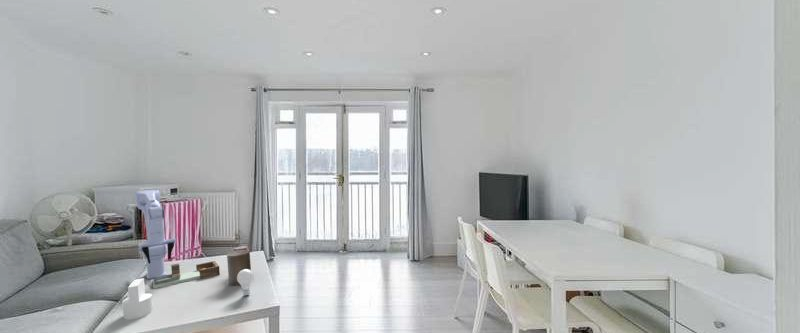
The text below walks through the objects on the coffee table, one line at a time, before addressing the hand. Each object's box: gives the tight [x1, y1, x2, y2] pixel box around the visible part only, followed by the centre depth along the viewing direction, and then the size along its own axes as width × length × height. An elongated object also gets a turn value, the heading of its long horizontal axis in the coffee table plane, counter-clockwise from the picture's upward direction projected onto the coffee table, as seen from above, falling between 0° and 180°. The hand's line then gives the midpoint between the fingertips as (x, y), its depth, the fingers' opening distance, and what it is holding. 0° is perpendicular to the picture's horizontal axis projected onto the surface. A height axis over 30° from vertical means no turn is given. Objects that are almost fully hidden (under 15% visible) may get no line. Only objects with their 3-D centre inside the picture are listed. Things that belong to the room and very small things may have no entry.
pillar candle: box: [226, 249, 252, 286], centre depth 162 cm, size 10×10×15 cm
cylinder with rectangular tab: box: [121, 278, 154, 320], centre depth 133 cm, size 9×9×12 cm
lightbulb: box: [237, 269, 255, 297], centre depth 146 cm, size 6×6×11 cm
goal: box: [195, 260, 220, 279], centre depth 176 cm, size 12×8×4 cm
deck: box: [152, 270, 200, 289], centre depth 168 cm, size 10×19×1 cm, turn 128°
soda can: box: [233, 244, 250, 251], centre depth 174 cm, size 7×7×13 cm
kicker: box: [170, 262, 181, 278], centre depth 168 cm, size 5×3×6 cm, turn 38°
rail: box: [153, 273, 179, 285], centre depth 165 cm, size 8×10×1 cm
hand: (159, 261), depth 165 cm, fingers open, 7 cm apart
